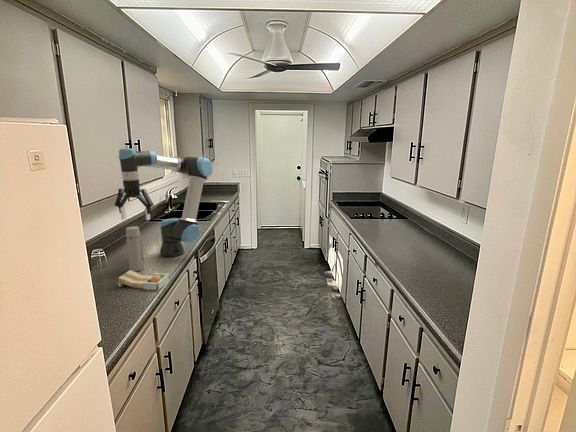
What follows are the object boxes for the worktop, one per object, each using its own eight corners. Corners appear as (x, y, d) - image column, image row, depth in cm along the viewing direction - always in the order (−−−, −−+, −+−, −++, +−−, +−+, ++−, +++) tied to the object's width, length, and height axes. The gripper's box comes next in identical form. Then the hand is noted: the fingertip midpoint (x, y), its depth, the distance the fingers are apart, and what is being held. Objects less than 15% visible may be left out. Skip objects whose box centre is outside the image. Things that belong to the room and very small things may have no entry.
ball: (152, 278, 170) (157, 271, 169) (159, 284, 170) (164, 277, 169) (147, 282, 165) (152, 275, 164) (155, 288, 165) (160, 281, 164)
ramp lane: (129, 278, 174) (128, 269, 173) (154, 280, 173) (153, 271, 172) (118, 286, 165) (117, 277, 164) (144, 288, 163) (143, 279, 162)
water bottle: (128, 273, 181) (123, 230, 175) (131, 267, 189) (126, 226, 183) (146, 271, 184) (142, 229, 178) (148, 266, 191) (144, 225, 185)
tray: (155, 279, 174) (155, 273, 173) (169, 280, 173) (169, 273, 172) (143, 289, 162) (142, 282, 161) (158, 290, 161) (157, 283, 161)
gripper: (103, 180, 163) (109, 220, 169) (150, 180, 160) (155, 221, 166) (112, 178, 170) (118, 216, 176) (157, 178, 168) (162, 218, 173)
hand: (136, 219), depth 171 cm, fingers open, 13 cm apart
